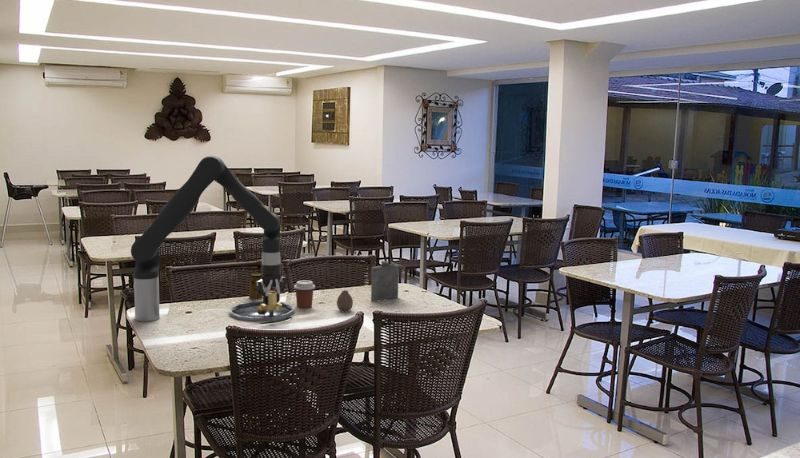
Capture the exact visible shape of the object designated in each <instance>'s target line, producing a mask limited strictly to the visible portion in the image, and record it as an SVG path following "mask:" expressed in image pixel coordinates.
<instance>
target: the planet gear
mask: <svg viewBox="0 0 800 458" xmlns="http://www.w3.org/2000/svg"><path fill="white" fill-rule="evenodd" d="M261 308H262V310H268V311H271V310H279V308H280V309H281V308H282V304H281V303H277V292H276V291H274V290H270V291H269V293H268V305H265V304H261Z"/></svg>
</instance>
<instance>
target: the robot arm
mask: <svg viewBox="0 0 800 458" xmlns="http://www.w3.org/2000/svg"><path fill="white" fill-rule="evenodd" d="M214 181H215V182H216V183H217V184H219V185H220V186H221V187H222V188H224V189H225V190H226V191H227V192H228V193H229V195H230V196H231V197H232V198H233V200H234V201H235V202H236V203H237V204H238V205H239V206H240V207H241V209H243V210H244V211H245V212H246V213H247V214H248V215H250V216H251V218H252V219H253V220H254V221H255V222H256V223H257V225H258V226H259V227H260V228H261V229H262V230H263V238H262V241H261V242H262V243H261V245H262V246H261V247H262V250H261V251H262V252H261V275H262V279H261V280H259V281H256V282H255V283H256V287H257V290H258V294H260V295H263V298H262V301H263V303H264V304H265V305H268V293H269V291H271V288H272V289H273V291H276V292H277V303H279V302H281V301H280V300H281V299H280V298H281V297H280V296H281V293H283V292H284V291H285V287H286V283H287V280H288V278H287V277H285V276H281V273H282V272H281V271H282V269H281V262H282V261H281V252H280V251H281V246H280V245H281V241H280V237H281V229H282V227H281V224H282V223H281V222H282V221H281V218H280V216H279V215H278V214H276V213H274V212H270V211H269V210H268V209H267V208H266V207H265V204H264V203H263V202H262V201H261V200H260V199H259V198H258V197H257V195H255V194H254V193H253V192H252V191H251V190H249V189H248V188H247V187H246V186H245V185H244V184H243V183H242V182H241V181H240V180H239V179H238V178H237V177H236V176H235V174H233V173H232V171H230V169H229V168H228V166H227V165H226V164H225V163H224V161H223V160H222V159H221V158H220V157H218V156H213V155H209V156H208V155H207V156H205V157H203V158H202V159H201V160H200V161H199V162H198V163H197V166H196V167H195V169H194V171H192V174H191V175H190V176H189V178H188V179H187V180H186V182H185V183H183V185H182V186H180V187H179V189H178V190H177V191H176V192H175V193H174V194H173V195H172V196H171V197H170V199H169V200H168V201H167V202H166V203H165V205H164V206H163V207H162V209H161V210H160V211H159V212H158V215H157V216H156V217H155V219H154V221H153V222H152V223H151V225H150V226H149V227H148V228H147V229H146V231H144V233H142V235H140V236H139V237H138V238H137V239H136V240H135V241H134V242H133V243H132V245H131V247H130V255H131V257H132V258H133V259H134V261H135V267H134V270H133V291H134V295H133V296H134V320H135V321H137V322H154V321H157V320H159V319H160V285H159V283H160V282H159V280H160V279H159V271H160V246H161V245H162V243H163V242H164V241H165V240H166V238H167V237H168V236H169V235H171V234H172V232H174V231H175V230H176V229H177V228H178V227H179V226H180V225H181V224H182V223H183V222H184V221H185V220H186V219H187V217H188V216H189V215H190V214H191V212H192V211H193V209H194V208H195V207H196V205H197V204H198V201H199V199H200V198H201V195H202V194H203V193H204V192H205V190H206V189H207V188H208V187H209V186H210V185H211V184H212V183H213V182H214ZM262 283H263V284H262ZM262 285H263V287H262Z"/></svg>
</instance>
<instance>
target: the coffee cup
mask: <svg viewBox="0 0 800 458" xmlns="http://www.w3.org/2000/svg"><path fill="white" fill-rule="evenodd" d="M293 288H294V289H295V298H296V307H297V308H299V309H312V308H313V299H314V289H315V288H316V285H315V284H314V282H313V281H312V280H305V279H304V280H298V281H296V284H294V285H293Z"/></svg>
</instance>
